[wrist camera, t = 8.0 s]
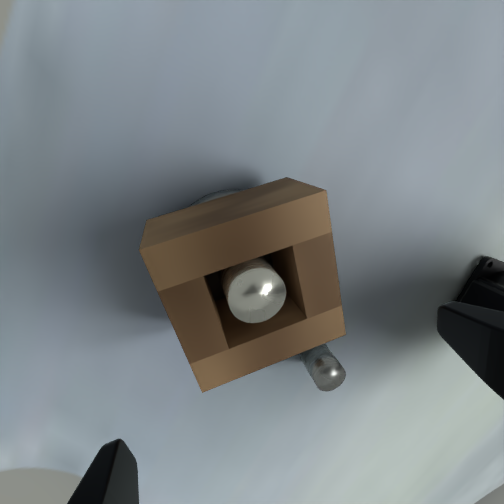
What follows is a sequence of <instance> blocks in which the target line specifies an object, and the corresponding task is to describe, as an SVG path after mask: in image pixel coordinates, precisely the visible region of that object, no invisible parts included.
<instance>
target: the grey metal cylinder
mask: <svg viewBox="0 0 504 504" xmlns="http://www.w3.org/2000/svg"><path fill="white" fill-rule="evenodd" d="M300 358H301V360H302V362H303V364H304V365H305V367H306V369H307V370H308V372H309V374H310V375H311V377H312V379H313V380H314V382H315V384H316V385H317V387H318V388H319V389H320V390H322V391H331V390H334V389H336V388H337V387H338V386H340V385H341V384H342V382H343V381H344V379H345V376H346V372H345V370H344V368H343V367H342V366H341V364H340V363H339V362H338V360H337V359H336V358H335V356H334V355H333V354H332V352H331V351H330V350H329V349H328V347H327V346H326V345H325V343H324V344H322V345H319V346H317V347H314V348H312V349H309V350H307V351H304V352H302V353H300Z"/></svg>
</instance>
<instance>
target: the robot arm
mask: <svg viewBox="0 0 504 504" xmlns="http://www.w3.org/2000/svg"><path fill="white" fill-rule="evenodd" d="M437 330H438V332H439V334H440V336H441V337H442V338H443V339H444V340H445V341H446V342H447V343H448V344H449V345H450V346H451V348H452V349H453V350H454V351H455V352H456V353H457V354H458V355H459V356H460V357H461V358H462V359H463V360H464V361H465V362H466V364H467V365H468V366H469V367H470V368H471V369H472V370H473V371H474V372H475V373H476V374H477V375H478V376H479V377H480V378H481V379H482V380H483V381H484V382H485V383H486V384H487V385H488V386H489V387H490V388H491V389H492V390H493V391H494V392H496V393H497V394H498V395H499V396H500V397H501V398H502V399H503V400H504V262H502V261H499V260H496V259H494V258H491V257H488V256H486V257H484V258H483V259H482V260H481V261H480V263H479V265H478V266H477V268H476V270H475V271H474V273H473V275H472V276H471V278H470V280H469V281H468V283H467V285H466V286H465V288H464V289H463V291H462V293H461V294H460V296H459V298H458V299H457V301H450V302H448V303H445V304H443V305H440V306H439V308H438V313H437ZM67 504H139V491H138V469H137V462H136V459H135V457H134V455H133V454H132V453H131V451H130V450H129V448H128V447H127V445H126V444H125V442H124V441H123V440H122V439H116V440H114V441H112V442H109V443H107V444H105V445H103V446H102V447H101V449H100V450H99V452H98V453H97V455H96V457H95V458H94V460H93V462H92V463H91V465H90V467H89V468H88V470H87V472H86V473H85V475H84V477H83V478H82V480H81V481H80V483H79V485H78V486H77V488H76V490H75V491H74V493H73V495H72V496H71V498H70V500H69V501H68V503H67Z"/></svg>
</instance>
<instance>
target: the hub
mask: <svg viewBox="0 0 504 504" xmlns="http://www.w3.org/2000/svg"><path fill="white" fill-rule="evenodd" d="M240 191H243V190H223V191H218V192H215V193H211V194H209V195H207V196H204V197H202V198H201V199H199V200H197V201H196V202H194V203H193V204H192V205H191V206H194V205H198V204H201V203H204V202H207V201H211V200H214V199H217V198H220V197H224V196H227V195H230V194H234V193H237V192H240ZM191 206H189V207H191ZM206 277H207V280H208V283H209V286H210V288H211V291H212V294H213V297H214V300H215V301H217V300H220V299H223V298H225V297H226V299H227V302H228V305H229V308H230V310H231V312H232V313H233V315H234V316H235V317H236V318H238V319H239V320H241V321H244V322H247V323H259V322H263V321H265V320H268V319H270V318H271V317H273V316H274V315H275V314H276V313H277V312H278V311H279V310H280V309H281V307H282V306H283V304H284V301H285V297H286V288H285V284H284V282H283V280H282V279H281V278H280V276H279V275H278V274H277V273H276V271H275V270H274V267H273V262H272V258H271V254H270V253H269V254H266V255H263V256H260V257H257V258H254V259H251V260H249V261H246V262H243V263H240V264H237V265H234V266H231V267H228V268H225V269H222V270H219V271H217V272H214V273H211V274H208V275H206Z"/></svg>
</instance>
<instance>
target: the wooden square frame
mask: <svg viewBox="0 0 504 504" xmlns="http://www.w3.org/2000/svg"><path fill="white" fill-rule="evenodd" d="M139 251H140V254H141V256H142V258H143V260H144V263H145V265H146V267H147V269H148V272H149V274H150V276H151V278H152V281H153V283H154V285H155V287H156V290H157V292H158V294H159V296H160V299H161V301H162V303H163V305H164V308H165V310H166V312H167V314H168V317H169V319H170V321H171V323H172V326H173V328H174V330H175V332H176V335H177V337H178V339H179V341H180V344H181V346H182V348H183V350H184V353H185V355H186V357H187V359H188V362H189V364H190V366H191V368H192V371H193V373H194V375H195V377H196V380H197V382H198V384H199V386H200V389H201V391H202V393H203V392H205V391H208V390H210V389H212V388H215V387H217V386H220V385H222V384H225V383H227V382H230V381H232V380H235V379H237V378H240V377H242V376H245V375H247V374H250V373H252V372H255V371H257V370H260V369H262V368H265V367H267V366H269V365H272V364H274V363H277V362H279V361H282V360H284V359H287V358H289V357H292V356H294V355H297V354H299V353H302V352H304V351H307V350H309V349H312V348H314V347H317V346H319V345H322V344H324V343H326V342H329V341H331V340H334V339H336V338H339V337H341V336H344V335H346V332H345V325H344V317H343V310H342V303H341V295H340V288H339V281H338V273H337V266H336V259H335V251H334V244H333V236H332V229H331V222H330V214H329V207H328V200H327V192H326V190H324V189H321V188H318V187H315V186H312V185H309V184H306V183H303V182H300V181H297V180H294V179H291V178H288V177H286V178H283V179H279V180H276V181H273V182H270V183H266V184H263V185H260V186H256V187H253V188H250V189H247V190H243V191H240V192H237V193H234V194H230V195H227V196H224V197H220V198H217V199H214V200H211V201H207V202H204V203H201V204H198V205H194V206H191V207H188V208H184V209H181V210H178V211H175V212H171V213H168V214H165V215H161V216H158V217H155V218H152V219H148V220H146V224H145V228H144V232H143V236H142V240H141V244H140V248H139ZM269 253H270V254H271V258H272V262H273V267H274V270H275V271H276V273H277V274H278V275H279V276H280V278H281V279H282V280H283V282H284V284H285V288H286V297H285V301H284V304H283V306H282V307H281V309H280V310H279V311H278V312H277V313H276V314H275V315H274V316H273V317H271V318H270V319H268V320H265V321H263V322H259V323H247V322H244V321H241V320H239V319H238V318H236V317H235V316H234V315H233V313H232V312H231V310H230V308H229V305H228V302H227V299H226V297H225V298H223V299H220V300H217V301H215V300H214V297H213V294H212V291H211V288H210V286H209V283H208V280H207V277H206V275H208V274H211V273H214V272H217V271H219V270H222V269H225V268H228V267H231V266H234V265H237V264H240V263H243V262H246V261H249V260H251V259H254V258H257V257H260V256H263V255H266V254H269Z"/></svg>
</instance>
